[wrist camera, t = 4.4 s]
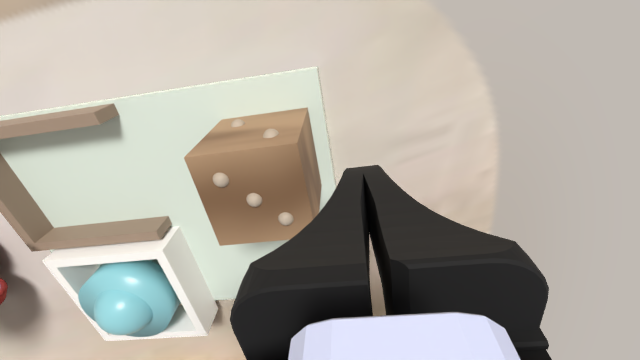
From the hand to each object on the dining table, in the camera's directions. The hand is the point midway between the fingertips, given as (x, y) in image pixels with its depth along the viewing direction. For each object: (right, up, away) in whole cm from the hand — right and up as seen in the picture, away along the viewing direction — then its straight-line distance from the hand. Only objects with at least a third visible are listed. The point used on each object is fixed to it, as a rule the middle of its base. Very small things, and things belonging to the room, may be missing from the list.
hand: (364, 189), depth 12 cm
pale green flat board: (-11, -2, +8) cm, 13 cm away
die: (-4, +2, +5) cm, 7 cm away
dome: (-14, -7, +9) cm, 18 cm away
